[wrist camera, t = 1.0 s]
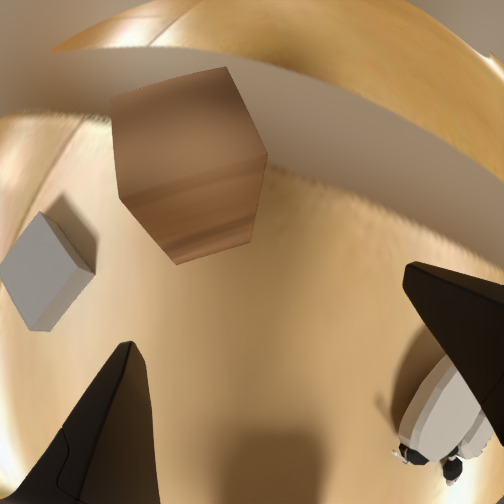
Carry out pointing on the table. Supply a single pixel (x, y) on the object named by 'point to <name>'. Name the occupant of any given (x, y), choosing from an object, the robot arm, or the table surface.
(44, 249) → the base slab
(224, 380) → the table surface
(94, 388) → the robot arm
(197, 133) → the walnut block
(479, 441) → the robot toy
